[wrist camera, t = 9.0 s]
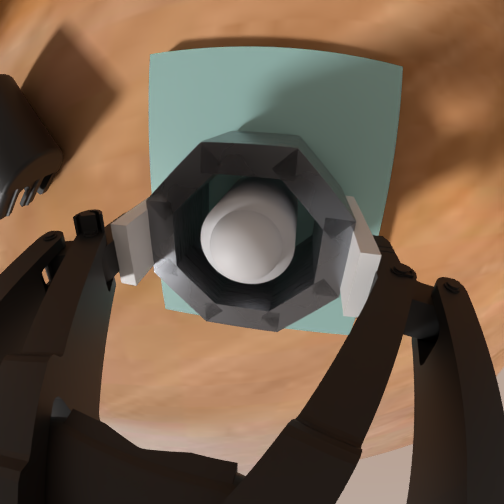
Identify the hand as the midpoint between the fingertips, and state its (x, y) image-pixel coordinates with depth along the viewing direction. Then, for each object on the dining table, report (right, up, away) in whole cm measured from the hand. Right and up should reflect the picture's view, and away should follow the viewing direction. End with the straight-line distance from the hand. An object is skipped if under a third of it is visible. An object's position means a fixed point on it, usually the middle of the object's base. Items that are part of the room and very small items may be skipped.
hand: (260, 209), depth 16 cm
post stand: (0, +1, +2) cm, 2 cm away
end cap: (-19, +8, +2) cm, 21 cm away
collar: (0, 0, 0) cm, 0 cm away
